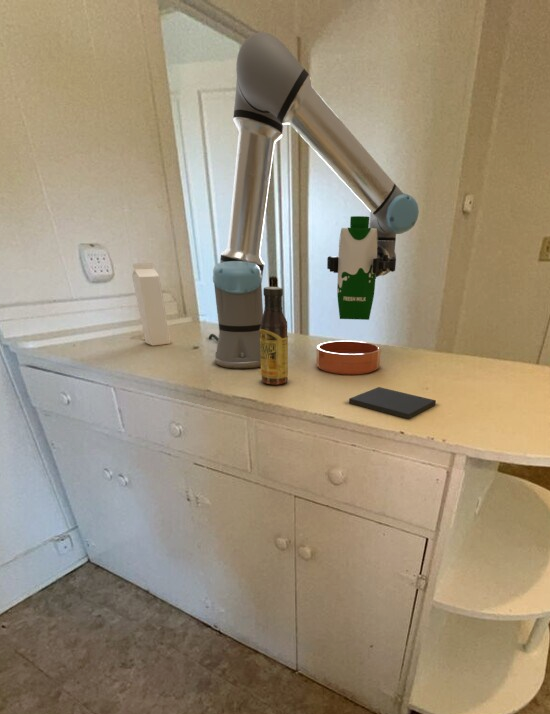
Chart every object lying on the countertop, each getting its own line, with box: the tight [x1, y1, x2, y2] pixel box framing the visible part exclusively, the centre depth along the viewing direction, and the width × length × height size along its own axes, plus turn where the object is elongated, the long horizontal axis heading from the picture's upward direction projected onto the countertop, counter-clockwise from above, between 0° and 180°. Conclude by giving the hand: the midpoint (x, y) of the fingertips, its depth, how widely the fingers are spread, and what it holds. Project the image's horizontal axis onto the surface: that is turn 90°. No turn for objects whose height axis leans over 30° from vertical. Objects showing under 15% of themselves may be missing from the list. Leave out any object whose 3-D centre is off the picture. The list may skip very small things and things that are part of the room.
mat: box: [348, 386, 437, 420], centre depth 87 cm, size 14×11×1 cm
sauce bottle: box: [260, 286, 289, 386], centre depth 95 cm, size 7×6×20 cm
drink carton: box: [336, 215, 378, 321], centre depth 98 cm, size 9×9×20 cm
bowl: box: [316, 340, 381, 376], centre depth 111 cm, size 16×16×5 cm
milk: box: [131, 262, 171, 347], centre depth 130 cm, size 6×6×22 cm
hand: (352, 265), depth 94 cm, fingers closed on drink carton, 9 cm apart
